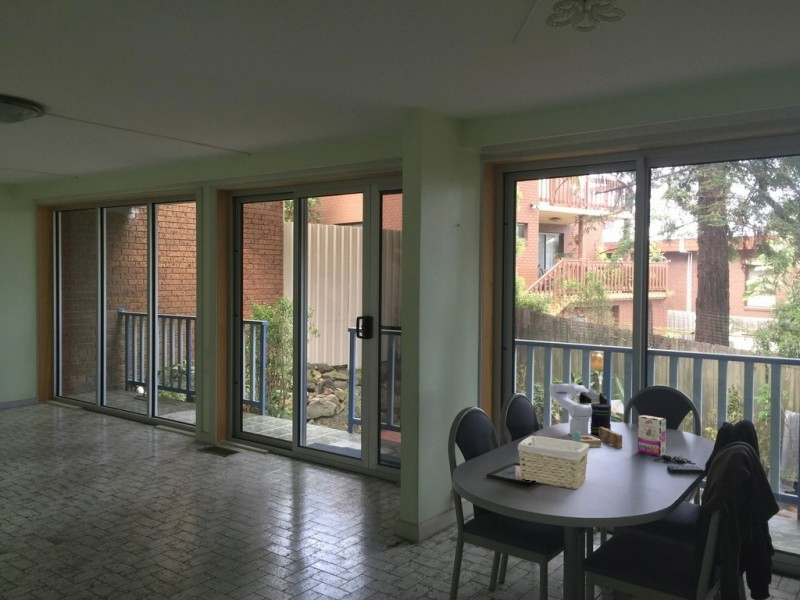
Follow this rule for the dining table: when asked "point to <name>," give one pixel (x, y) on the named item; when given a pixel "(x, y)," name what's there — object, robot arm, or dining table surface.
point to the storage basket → (553, 461)
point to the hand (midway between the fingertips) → (598, 401)
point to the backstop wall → (610, 437)
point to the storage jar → (600, 417)
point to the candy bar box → (652, 435)
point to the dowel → (577, 436)
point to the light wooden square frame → (590, 441)
